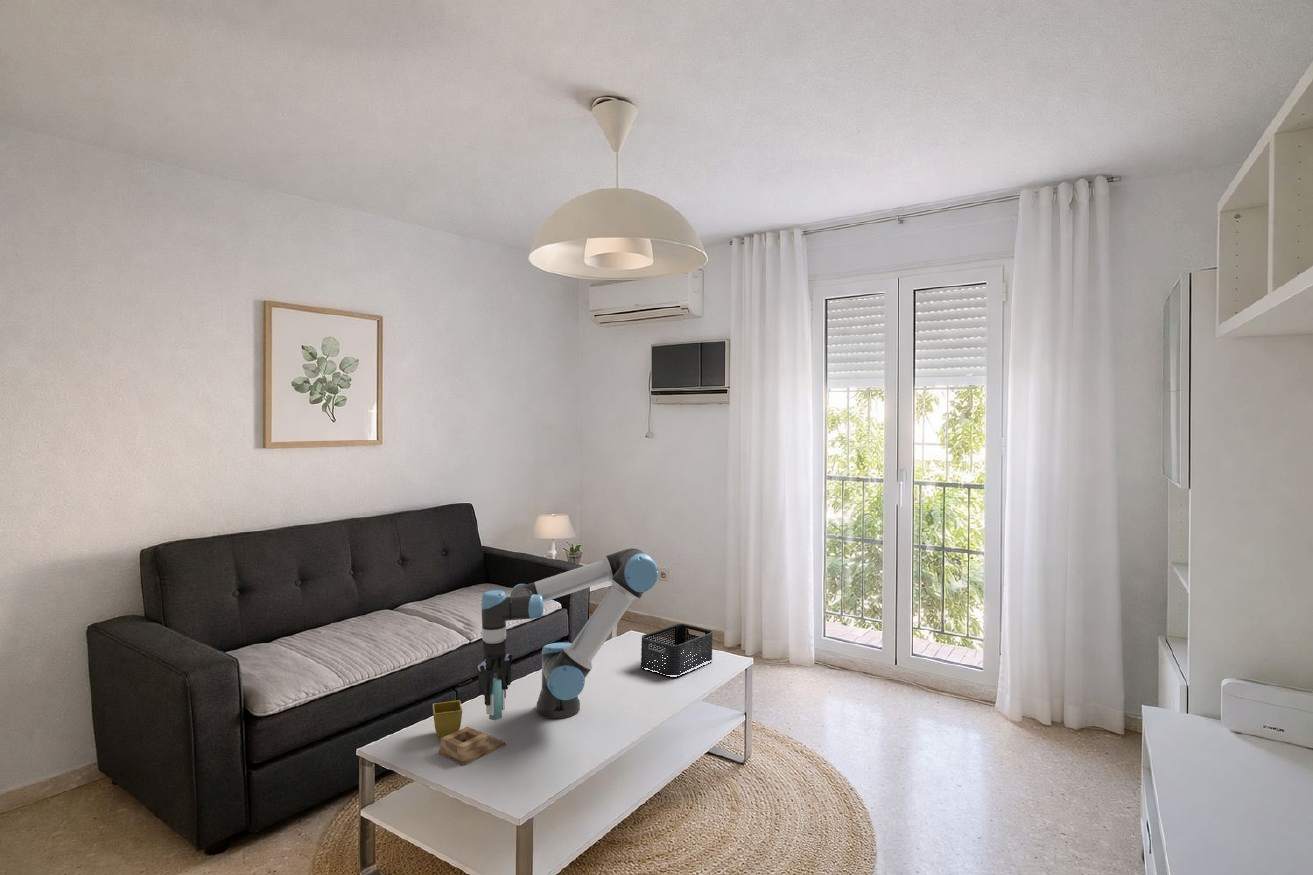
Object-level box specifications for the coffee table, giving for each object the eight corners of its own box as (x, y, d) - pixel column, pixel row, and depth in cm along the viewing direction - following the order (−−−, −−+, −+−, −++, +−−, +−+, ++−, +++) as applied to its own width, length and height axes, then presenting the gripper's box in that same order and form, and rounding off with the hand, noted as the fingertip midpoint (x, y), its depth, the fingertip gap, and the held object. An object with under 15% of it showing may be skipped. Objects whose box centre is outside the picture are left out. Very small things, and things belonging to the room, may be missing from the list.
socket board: (479, 734, 220) (480, 718, 220) (505, 744, 214) (505, 728, 213) (438, 753, 207) (438, 737, 207) (464, 765, 200) (464, 748, 200)
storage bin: (679, 651, 304) (679, 621, 304) (715, 661, 292) (716, 630, 291) (637, 669, 282) (637, 636, 282) (674, 680, 270) (674, 646, 269)
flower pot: (432, 730, 223) (432, 703, 223) (460, 726, 226) (460, 699, 226) (433, 742, 215) (433, 713, 214) (462, 738, 218) (462, 710, 218)
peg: (496, 713, 224) (495, 677, 224) (504, 716, 222) (504, 679, 221) (486, 717, 221) (486, 681, 220) (495, 720, 219) (494, 683, 218)
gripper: (506, 630, 230) (507, 699, 230) (465, 644, 216) (466, 718, 216) (521, 634, 225) (523, 705, 226) (481, 649, 211) (482, 724, 212)
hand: (495, 711), depth 221 cm, fingers closed on peg, 4 cm apart
